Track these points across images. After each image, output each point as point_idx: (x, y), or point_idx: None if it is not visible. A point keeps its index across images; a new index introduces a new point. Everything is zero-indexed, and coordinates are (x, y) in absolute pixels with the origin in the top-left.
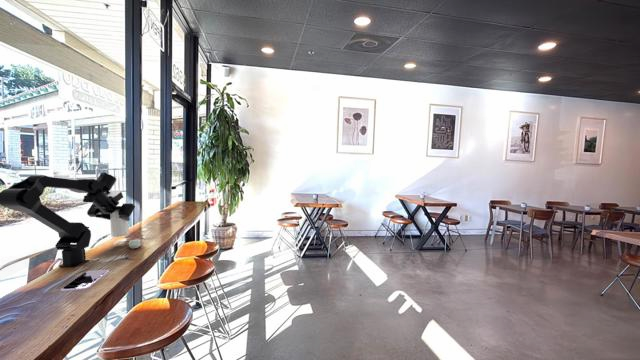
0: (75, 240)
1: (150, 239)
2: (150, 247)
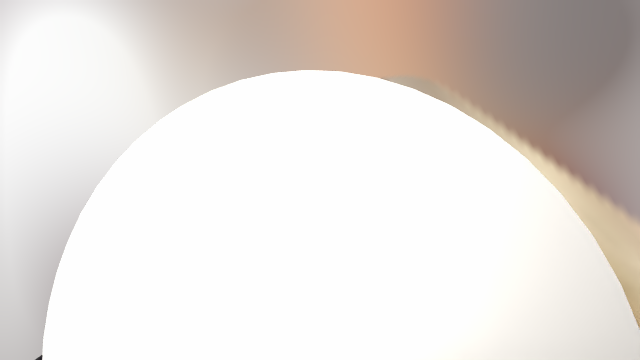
0: None
1: (456, 100)
2: (618, 269)
